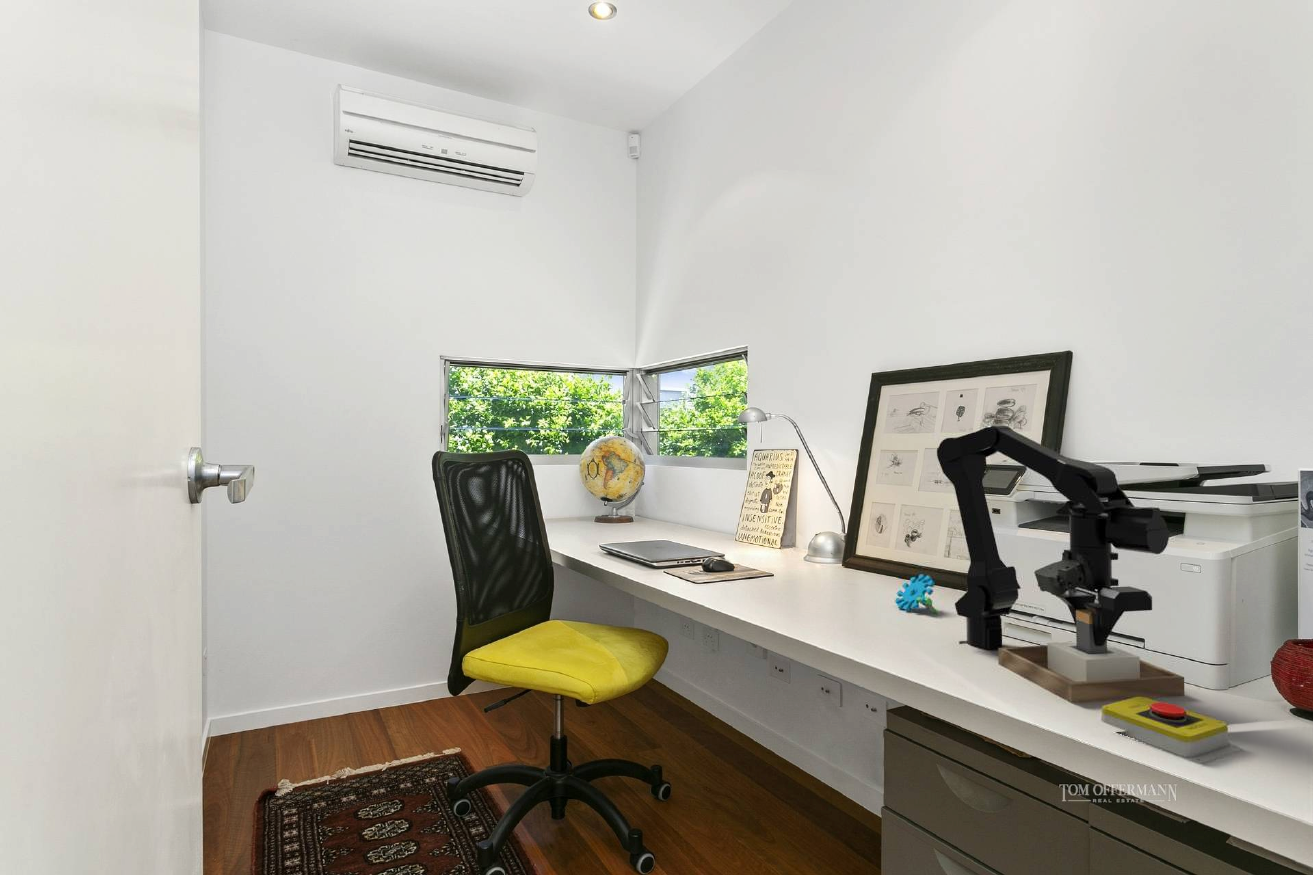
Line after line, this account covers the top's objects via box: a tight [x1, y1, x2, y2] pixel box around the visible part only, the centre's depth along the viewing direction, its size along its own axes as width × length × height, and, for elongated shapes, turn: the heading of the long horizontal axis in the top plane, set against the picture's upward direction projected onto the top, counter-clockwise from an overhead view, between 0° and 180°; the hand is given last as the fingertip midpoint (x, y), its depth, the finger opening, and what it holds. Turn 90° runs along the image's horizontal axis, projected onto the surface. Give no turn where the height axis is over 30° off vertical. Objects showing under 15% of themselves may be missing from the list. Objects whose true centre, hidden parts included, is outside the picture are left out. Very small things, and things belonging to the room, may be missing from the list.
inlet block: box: [1046, 641, 1141, 682], centre depth 117 cm, size 9×9×4 cm
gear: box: [894, 573, 938, 614], centre depth 165 cm, size 11×6×10 cm
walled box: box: [997, 644, 1186, 704], centre depth 115 cm, size 18×18×4 cm
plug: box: [1075, 609, 1108, 655], centre depth 117 cm, size 3×3×8 cm
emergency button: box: [1100, 697, 1243, 764], centre depth 96 cm, size 9×4×15 cm
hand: (1091, 642), depth 117 cm, fingers closed on plug, 3 cm apart
